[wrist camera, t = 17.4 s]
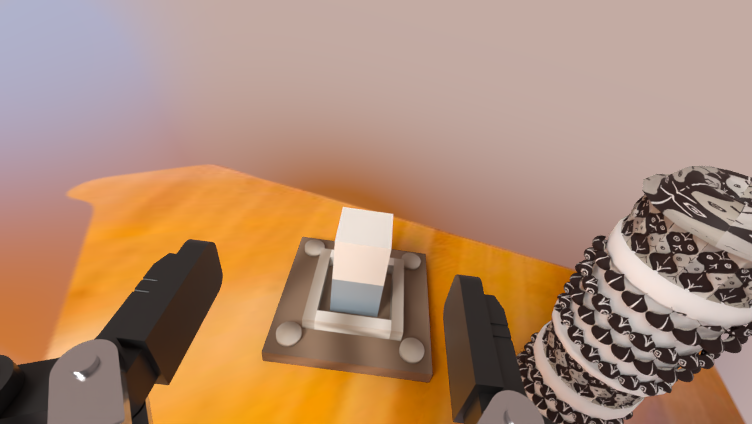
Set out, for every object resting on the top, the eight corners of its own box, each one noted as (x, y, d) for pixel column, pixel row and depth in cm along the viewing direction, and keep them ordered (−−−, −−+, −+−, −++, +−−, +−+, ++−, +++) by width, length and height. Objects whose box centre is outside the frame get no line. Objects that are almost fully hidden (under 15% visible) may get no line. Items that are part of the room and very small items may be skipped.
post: (379, 280, 41) (393, 214, 35) (377, 316, 37) (391, 249, 31) (337, 274, 41) (343, 207, 35) (329, 310, 37) (334, 241, 31)
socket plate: (423, 261, 46) (427, 245, 44) (429, 382, 34) (436, 366, 32) (302, 245, 46) (302, 227, 44) (262, 360, 33) (260, 343, 31)
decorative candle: (573, 494, 28) (899, 296, 13) (477, 402, 33) (628, 177, 17) (610, 414, 33) (869, 207, 18) (523, 345, 38) (669, 135, 23)
